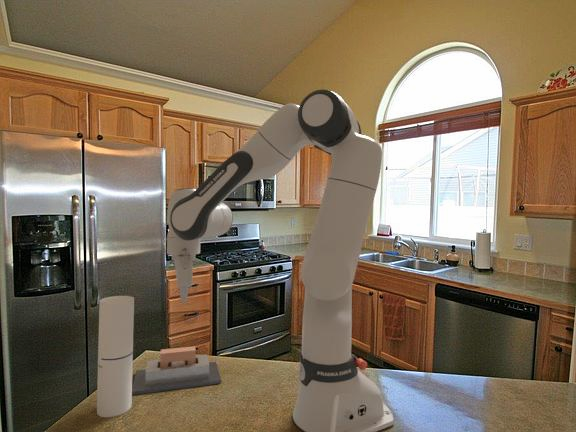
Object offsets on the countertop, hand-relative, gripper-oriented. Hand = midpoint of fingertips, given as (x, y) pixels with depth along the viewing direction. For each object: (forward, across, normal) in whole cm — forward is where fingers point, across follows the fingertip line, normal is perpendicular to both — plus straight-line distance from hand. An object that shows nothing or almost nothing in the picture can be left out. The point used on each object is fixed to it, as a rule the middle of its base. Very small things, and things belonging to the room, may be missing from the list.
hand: (183, 297), depth 94 cm
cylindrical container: (+22, -12, +15) cm, 29 cm away
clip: (+21, -1, +1) cm, 21 cm away
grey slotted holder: (+22, -1, +1) cm, 22 cm away
